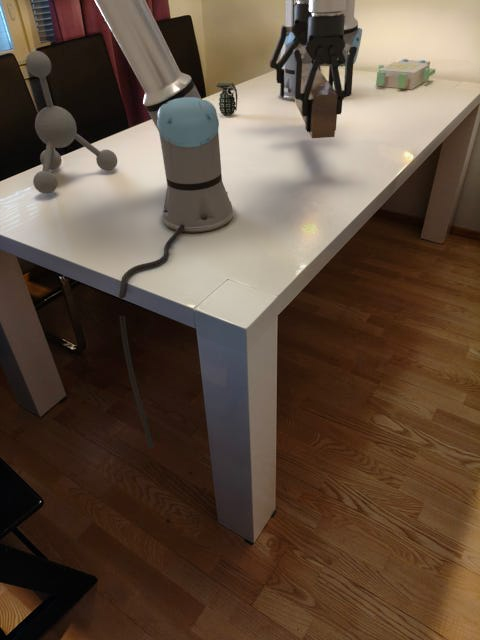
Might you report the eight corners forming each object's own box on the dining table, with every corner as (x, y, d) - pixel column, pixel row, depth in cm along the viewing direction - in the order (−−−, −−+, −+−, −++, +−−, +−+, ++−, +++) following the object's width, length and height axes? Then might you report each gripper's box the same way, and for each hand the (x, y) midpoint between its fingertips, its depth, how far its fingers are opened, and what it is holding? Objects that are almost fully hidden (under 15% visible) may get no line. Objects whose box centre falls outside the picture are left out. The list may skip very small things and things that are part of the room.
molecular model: (127, 184, 124) (101, 51, 106) (38, 200, 118) (-6, 64, 100) (112, 155, 142) (87, 38, 123) (33, 169, 136) (-5, 48, 118)
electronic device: (284, 79, 208) (284, -5, 189) (278, 76, 213) (278, -6, 195) (311, 76, 210) (314, -7, 191) (304, 73, 216) (307, -8, 197)
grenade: (217, 117, 168) (214, 86, 162) (221, 112, 172) (219, 82, 166) (235, 117, 166) (233, 86, 160) (239, 113, 171) (238, 82, 165)
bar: (334, 137, 111) (337, 94, 106) (311, 138, 112) (313, 95, 106) (312, 99, 138) (314, 63, 132) (294, 100, 138) (295, 64, 132)
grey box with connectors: (392, 57, 203) (441, 60, 193) (390, 73, 207) (438, 78, 197) (367, 69, 187) (418, 73, 177) (365, 87, 191) (415, 92, 181)
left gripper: (366, 9, 103) (355, 122, 117) (280, 14, 103) (280, 127, 117) (375, 12, 97) (363, 132, 111) (284, 18, 97) (283, 136, 111)
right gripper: (355, -3, 123) (348, 88, 136) (258, 3, 123) (260, 93, 136) (362, -1, 117) (353, 95, 130) (260, 6, 117) (262, 100, 130)
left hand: (320, 129), depth 114 cm, fingers closed on bar, 5 cm apart
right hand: (306, 94), depth 133 cm, fingers open, 12 cm apart
